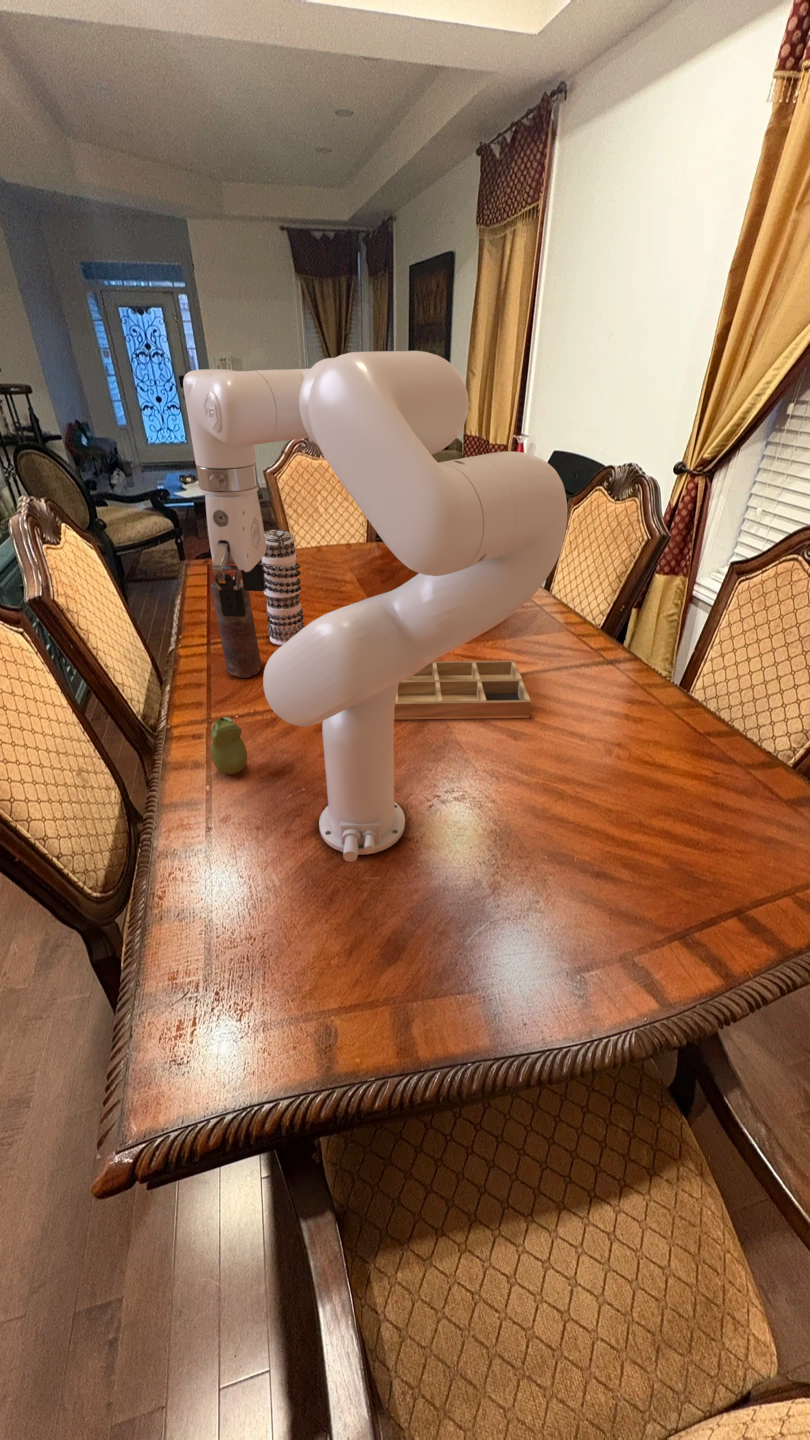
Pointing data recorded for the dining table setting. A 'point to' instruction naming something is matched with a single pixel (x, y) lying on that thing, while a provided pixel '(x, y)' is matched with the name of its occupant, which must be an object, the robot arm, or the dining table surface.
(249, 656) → the candle
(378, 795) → the robot arm
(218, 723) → the pear
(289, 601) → the decorative candle
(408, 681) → the wooden compartment tray
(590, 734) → the dining table surface
